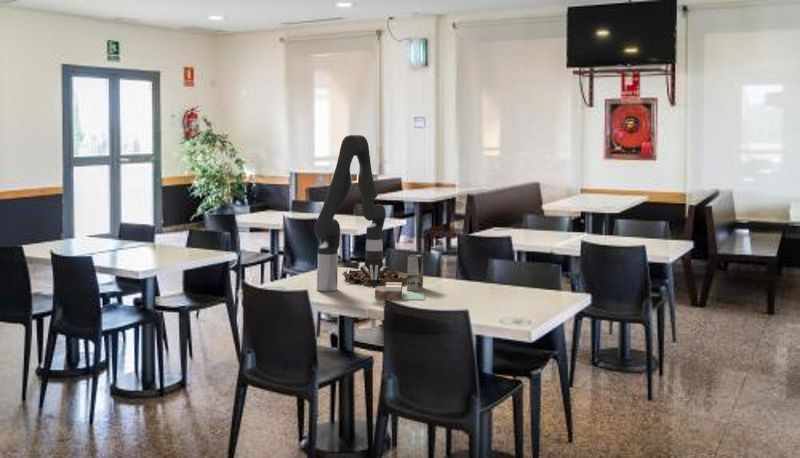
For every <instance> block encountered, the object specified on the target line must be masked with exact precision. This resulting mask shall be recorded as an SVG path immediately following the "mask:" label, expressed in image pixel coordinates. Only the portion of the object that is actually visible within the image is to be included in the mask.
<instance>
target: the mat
mask: <svg viewBox="0 0 800 458" xmlns="http://www.w3.org/2000/svg"><path fill="white" fill-rule="evenodd" d="M402 300H404V301H425V293H424V292H423V293H422V292H402Z"/></svg>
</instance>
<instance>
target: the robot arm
mask: <svg viewBox="0 0 800 458" xmlns="http://www.w3.org/2000/svg"><path fill="white" fill-rule="evenodd" d="M338 153H339V154H338V157H337V162H336V166H335V168H334V172H333V176H332V178H331V181H330V185H329V187H328V190H327V191H328V192H327V195H326V196H325V200H324V202H323V205H322V208H321V210H320V213H319V215H318V216H317V219H316V220H315V221H316V222H315V224H314V232H313V233H314V234H315V236H316V238H317V239H318V240H323V242H322V243H321V244H320V245H319V246H318V247H317V270H316V291H321V292H334V291H335V292H336V291H337V290H338V270H339V269H338V266H339V265H338V264H339V263H338V260H339V258H338V256H339V255H338V253H339V252H338V251H339V248H340V244H341V243H340V241H341V225H340V223H339V221H338V220H337V219H335V218H334V217H335V216H336V213H337V211H338V210H340V208H341V207H342V206H343V204H344V203H345V202H346V200H347V198H348V196H349V193H350V191H351V188H352V176H351V164H352V161H353V160H354V157H355V156H356V158H357V161H358V163H359V172H358V178H357V180H358V187H359V188H358V189H359V192H360V195H361V211H362V215H363V217H364V219H365V220H366V221H368V222H369V221H371V224H370V225H368V226H367V227H366V229H365V230H366V235H365V236H366V237H365V238H366V240H365V262H364V264H363V265H361V266H360V268H359V270H361V271H362V272H363V273H364V275H365V276H366V277H367V278H369V279H371V286H370V287H371V288H372V289H376V287H377V279H379V278H381V277H382V276H383V275H384V273H385V272H386V271H389V270H388V269H389V268H388V266H387V265H385V263H384V261H383V259H384V257H383V253H384V251H383V249H384V247H383V246H384V244H383V228H384V224H385V220H386V216H387V215H386V214H387V213H386V209H385V207H384V205H383V204H381V203H379V204H378V203H375V204H374V200H375V199H376V198H378V191H377V188H376V185H375V180H374V177H373V171H372V162H371V156H370V155H371V154H370V147H369V142H368V140H367V138H366V137H365V136H364V135H361V134H360V135H359V134H348V135H346V136H345V137H344V138H343V139H342V141H341V145H340V148H339V152H338ZM366 270H367V271H370V275H369V274H368V273H367V272H366ZM380 270H383V271H382V272H381V273H380V275H378V271H380ZM373 272H375V278H374V276H373Z"/></svg>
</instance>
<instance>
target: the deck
mask: <svg viewBox="0 0 800 458" xmlns="http://www.w3.org/2000/svg"><path fill="white" fill-rule="evenodd" d="M375 298H380V299H379V300H384V299H383V298H389V299H388V300H403V288H402V289H401V291H386V286H377V287H376V288H374V299H375Z"/></svg>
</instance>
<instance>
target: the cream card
mask: <svg viewBox="0 0 800 458" xmlns="http://www.w3.org/2000/svg"><path fill="white" fill-rule="evenodd" d="M401 287H402V288H403V286H402V285H386V291H401Z"/></svg>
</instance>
